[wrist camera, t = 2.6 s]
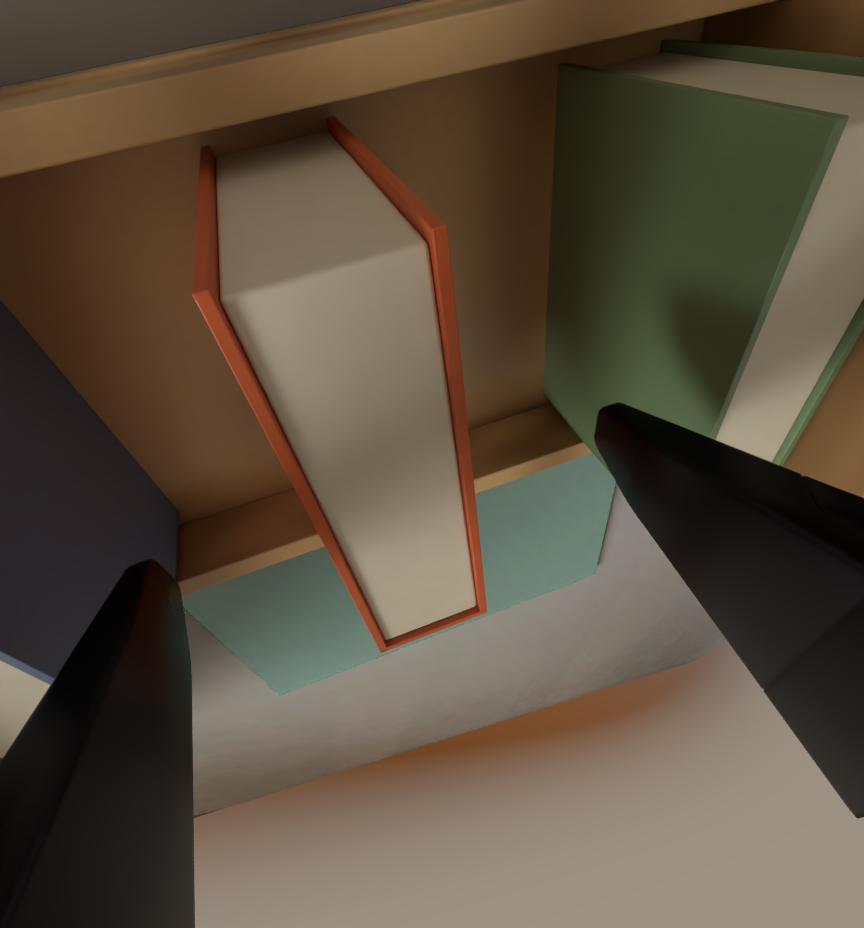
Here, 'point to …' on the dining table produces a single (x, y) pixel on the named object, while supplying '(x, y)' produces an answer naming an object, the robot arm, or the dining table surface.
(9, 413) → the blue book
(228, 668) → the dining table surface
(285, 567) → the mat
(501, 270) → the book rack
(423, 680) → the dining table surface
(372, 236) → the orange book
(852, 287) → the green book
